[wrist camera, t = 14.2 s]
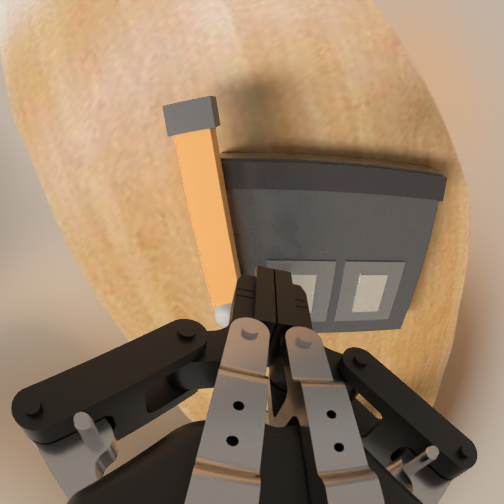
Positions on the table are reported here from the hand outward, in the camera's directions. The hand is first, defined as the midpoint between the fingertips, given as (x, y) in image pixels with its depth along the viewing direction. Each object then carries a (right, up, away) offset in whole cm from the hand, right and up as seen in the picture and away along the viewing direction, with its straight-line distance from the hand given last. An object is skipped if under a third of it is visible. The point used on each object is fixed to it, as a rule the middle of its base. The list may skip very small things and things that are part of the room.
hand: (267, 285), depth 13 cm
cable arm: (-4, +5, +13) cm, 15 cm away
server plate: (+7, +2, +19) cm, 20 cm away
